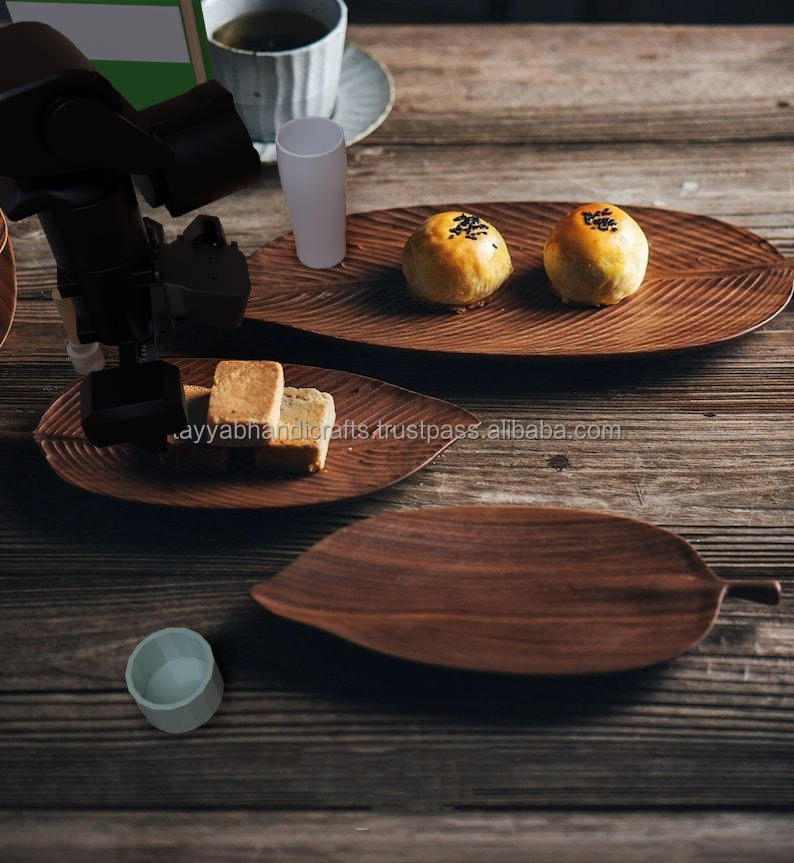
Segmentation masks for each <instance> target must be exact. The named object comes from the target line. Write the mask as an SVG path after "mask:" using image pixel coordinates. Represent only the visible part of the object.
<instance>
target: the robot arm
mask: <svg viewBox="0 0 794 863" xmlns="http://www.w3.org/2000/svg"><path fill="white" fill-rule="evenodd" d="M234 99H235V98H234V94H233V93H232V92H231V91H230V90H229V89H227V87H225V85H224V84H222V83H221V82H220V81H219V80H218V79H216V78H215V79H212V80H209V81H206V82H204V83H201V84H199V85H197V86H195V87H194V88H192V89H191V90H189V91H188V92H186V93H184V94H181V95H178V96H176V97H173V98H170V99H168V100H165V101H163V102H160V103H157V104H155V105H152V106H150V107H147V108H144V109H142V110H139V111H137V110H136V109H135V108H134V107H133V106H132V105H131V104H130V103H129V101H128V100H127V99H126V98H125V97H124V96H123V95H122V94H121V93H120V92H119V91H118V90H117V89H115V88H114V87H113V86H112V84H111V83H110V81H109V80H108V79H107V78H106V77H105V76H104V75H103V74H102V73H101V72H100V71H99V70H98V69H97V68H96V67H95V66H94V65H93V64H92V62H91V61H90V60H89V59H88V58H87V57H86V56H85V55H84V54H83V53H82V52H81V51H80V50H79V49H78V48H77V47H76V46H75V45H74V44H73V43H72V42H71V41H70V40H69V39H68V38H67V37H66V36H64V35H63V34H62V33H60V32H59V31H57V30H56V29H54V28H52V27H51V26H50V25H48V24H45V23H41V22H37V21H21V22H17V23H13V22H12V23H10V24H7V25H4V26H1V27H0V210H1V212H2V213H3V214H4V215H5V218H7V219H8V221H10V222H12V223H17V222H21V221H23V220H25V219H27V218H30V217H32V216H34V215H37V218H38V220H39V223H40V225H41V228H42V230H43V233H44V236H45V238H46V241H47V243H48V246H49V248H50V251H51V253H52V256H53V258H54V261H55V263H56V288H58V290H59V293H60V295H61V298H62V299H63V298H69V297H70V298H71V301H72V303H73V306H74V308H75V311H76V334H77V337H78V339H79V342H80V344H81V345H84V344H90V343H96V342H99V343H101V344H102V345H103V346H107V347H115V348H117V347H118V360H119V362H118V363H119V366H116V367H111V368H105V369H104V368H103V369H102V370H98V371H92V372H90V373H89V374H88V375H85V377H84V378H83V379H82V381H81V382H80V383H79V411H80V412H79V416H80V417H79V418H80V426H81V429H82V431H83V433H84V435H85V438H86V439H87V442H88V443H89V444H90V445H92V446H94V447H96V448H97V449H102V448H107V447H112V446H118V445H123V444H132V445H133V446H134V447H137V448H139V449H141V450H142V451H145V452H146V453H148V454H151V455H160V454H165V453H167V452H168V436H171V435H172V436H174V435H179V434H181V433H182V432H184V431H185V429H186V428H187V427H189V425H190V424H189V414H188V407H187V406H188V405H187V398H186V391H185V386H184V381H183V377H182V376H183V375H182V373H181V370H180V366H178V365H175V364H173V363H170V362H169V361H165V360H163V359H159V341H158V338H161V337H167V336H171V335H172V336H173V335H176V327H175V324H174V320H175V321H176V322H179V323H181V324H185V325H199V326H210V327H220V328H221V329H223V330H236V329H238V328H240V327H241V326H242V324H243V320H244V317H245V314H246V309H247V306H248V303H249V299H250V296H251V293H252V283H251V282H252V281H251V278H250V272H249V267H248V262H247V256H246V255H245V253H244V252H243V251H241V250H240V249H239V245H238V244H239V243H238V241H236V240H231V241H230V244H229V242H228V241H227V236H226V232H225V230H224V228H223V224H222V222H221V220H220V217H219V216H217V215H209V214H201V213H199V214H197V215H196V217H195V218H194V219H192V221H191V222H190V223H189V224H188V225H187V226H186V227H185V228H184V230H183V232H182V234H177V235H176V239H174V240H172V241H171V242H170V243H168V240H167V236H166V233H165V229H164V225H163V223H160V222H159V221H157V220H155V219H153V218H151V217H149V216H143V215H142V211H141V208H140V205H139V201H138V199H137V194H136V191H135V188H134V184H133V182H134V183H135V186H136V188H137V189H138V191H139V192H140V194H141V196H142V198H143V199H144V201H145V202H146V203H147V205H149V206H150V207H151V208H152V209H154V210H155V209H157V208H160V207H162V206H163V207H164V208H165V209H166V211H168V213H169V215H170V216H171V218H172V219H176V218H180V217H182V216H185V215H187V214H189V213H191V212H195V211H196V210H199V209H201V208H203V207H206V206H207V205H210V204H212V203H214V202H217V201H219V200H221V199H223V198H226V197H228V196H230V195H233V194H236V193H237V192H239V191H242V190H245V189H247V188H249V187H251V186H253V185H257V184H258V183H259V182H260V181H261V178H262V162H261V156H260V153H259V150H257V149H256V148H255V146H254V142H253V141H252V138H251V136H250V133H249V130H248V129H247V126H246V125H245V122H244V121H243V119H242V117H241V116H240V114H239V112H238V111H237V109H236V105H235V100H234ZM130 174H132V175H130ZM132 179H133V180H132ZM140 359H141V362H140Z"/></svg>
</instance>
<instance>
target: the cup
mask: <svg viewBox="0 0 794 863" xmlns="http://www.w3.org/2000/svg"><path fill="white" fill-rule="evenodd" d="M124 676H125V681H126V685H127V690H128V692H129V694H130V695H131V697H132V698H133V700H134V702H135V703H136V705H137V706H138V708H139V710H140V711H141V713H142V714H143V716H144V717H145V718H146V720H147V721H148V722H149V723H150V725H151V726H154V727H155V728H156V729H159V730H161V731H163V732H165V733H175V734H178V733H186V732H191V731H192V730H195V729H197V728H199V727H200V726H202V725H204V724H205V723H206V722H208V721H209V720H210V719H211V718H212V716H213V715H214V714H215V713H216V712H217V710H218V708H219V707H220V705H221V703H222V700H223V697H224V696H223V695H224V687H225V683H224V679H223V675H222V672H221V669H220V666H219V664H218V661H217V659H216V657H215V654H214V651H213V649H212V647H211V645H210V643H209V642H208V641H207V640H206V639H205V638H204V637H203V636H202V634H201V633H199V632H196V631H194V630H192V629H190V628H187V627H166V628H163V629H161V630H158V631H155V632H152V633H150V634H149V635H148V636H147V637H145V638H144V639H143V640H142V641H140V642H139V643H138V644H137V645H136V647H135V648H134V650H133V651H132V652H131V654H130V656H129V657H128V660H127V664H126V670H125V675H124Z"/></svg>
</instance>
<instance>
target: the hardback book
mask: <svg viewBox="0 0 794 863" xmlns="http://www.w3.org/2000/svg"><path fill="white" fill-rule="evenodd" d="M4 1H5V4H6V8H7V10H8V13H9V15H10V16H9V17H10V19H11V21H12V24H13V23H17V22H21V21H37V22H41V23H45V24H48V25H50V26H51V27H52V28H54V29H56V30H57V31H59V32H60V33H62V34H63V35H64V36H66V37H67V38H68V39H69V40H70V41H71V42H72V43H73V44H74V45H75V46H76V47H77V48H78V49H79V50H80V51H81V52H82V53H83V54H84V55H85V56H86V57H87V58H88V59H89V60H90V61H91V62H92V64H93V65H94V66H95V67H96V68H97V69H98V70H99V71H100V72H101V73H102V74H103V75H104V76H105V77H106V78H107V79H108V80H109V81H110V83H111V84H112V86H113V87H114V88H115V89H117V90H118V91H119V92H120V93H121V94H122V95H123V96H124V97H125V98H126V99H127V100H128V101H129V103H130V104H131V105H132V106H133V107H134V108H135V109H136V110H137V111H139V110H142V109H144V108H147V107H150V106H152V105H155V104H157V103H160V102H163V101H165V100H168V99H170V98H173V97H176V96H178V95H181V94H184V93H186V92H188V91H189V90H191V89H192V88H194V87H195V86H197V85H199V84H201V83H204V82H206V81H209V80H212V79H216V76H215V70H214V65H213V59H212V54H211V48H210V43H209V37H208V32H207V29H206V28H207V27H206V22H205V17H204V16H205V15H204V11H203V6H202V0H4ZM130 176H132V174H130Z"/></svg>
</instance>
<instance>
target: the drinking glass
mask: <svg viewBox="0 0 794 863" xmlns="http://www.w3.org/2000/svg"><path fill="white" fill-rule="evenodd" d="M274 141H275V153H276V154H275V155H276V163H277V169H278V176H279V180H280V181H279V182H280V185H281V189H282V193H283V197H284V201H285V205H286V206H285V207H286V210H287V213H288V218H289V222H290V228H291V232H292V234H293V239H294V244H295V252H296V256H297V258H298V260H299V262H300V263H301V264H303V265H304V266H305V267H308V268H311V269H318V270H323V269H331V268H332V267H335V266H336V265H338V264H340V263H341V262H342V261H343V260H344V258H346V254H347V239H346V238H347V237H346V235H347V234H346V233H347V232H346V230H347V229H346V228H347V201H348V200H347V198H348V197H347V196H348V154H347V146H346V137H345V132H344V130H343V127H342V126H341V125H340V124H339V123H337V122H336V121H335V120H333V119H331V118H328V117H324V116H317V115H307V116H300V117H296V118H293V119H291V120H289V121H287V122H285V123H284V124H282V125H281V126H280V127H279V128H278V129H277V131H276V134H275V137H274Z"/></svg>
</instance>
